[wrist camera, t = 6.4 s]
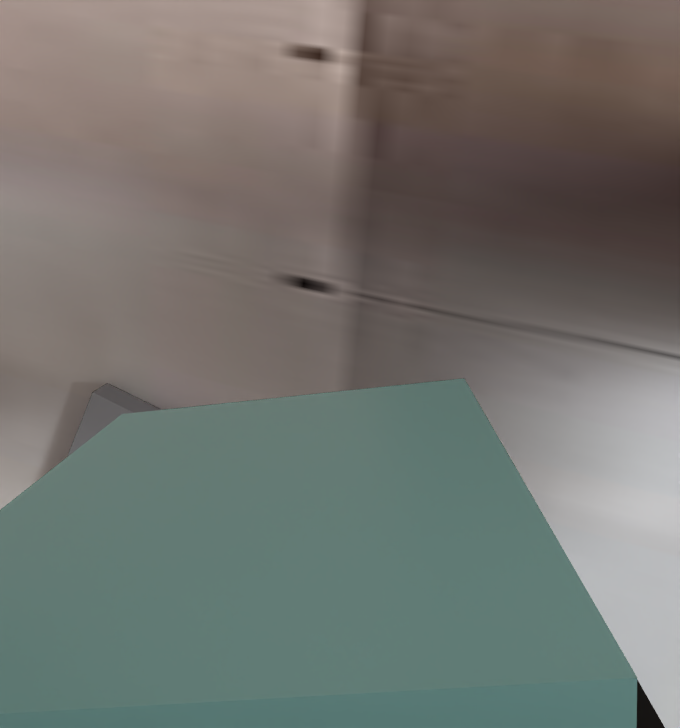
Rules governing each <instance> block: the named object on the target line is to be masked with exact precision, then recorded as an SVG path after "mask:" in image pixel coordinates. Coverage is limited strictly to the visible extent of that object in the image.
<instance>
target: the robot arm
mask: <svg viewBox="0 0 680 728" xmlns="http://www.w3.org/2000/svg"><path fill="white" fill-rule="evenodd" d="M637 728H665V727H664V726H663V724H662V722H661V720H660V719H659V717H658V715H657V713H656V712H655V710H654V708H653V706H652V705H651V703H650V701H649V699H648V698H647V696H646V694H645V692H644V691H643V689H642V687H641V685H640V684H639V682H638V680H637Z"/></svg>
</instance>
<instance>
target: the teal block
mask: <svg viewBox="0 0 680 728" xmlns="http://www.w3.org/2000/svg"><path fill="white" fill-rule="evenodd" d="M0 728H637V677H636V675H635V673H634V672H633V670H632V668H631V666H630V665H629V663H628V661H627V659H626V658H625V656H624V654H623V652H622V651H621V649H620V647H619V646H618V644H617V642H616V640H615V639H614V637H613V635H612V633H611V632H610V630H609V628H608V627H607V625H606V623H605V621H604V620H603V618H602V616H601V614H600V613H599V611H598V609H597V607H596V606H595V604H594V602H593V601H592V599H591V597H590V595H589V594H588V592H587V590H586V588H585V587H584V585H583V583H582V582H581V580H580V578H579V576H578V575H577V573H576V571H575V569H574V568H573V566H572V564H571V562H570V561H569V559H568V557H567V556H566V554H565V552H564V550H563V549H562V547H561V545H560V543H559V542H558V540H557V538H556V537H555V535H554V533H553V531H552V530H551V528H550V526H549V524H548V523H547V521H546V519H545V517H544V516H543V514H542V512H541V511H540V509H539V507H538V505H537V504H536V502H535V500H534V498H533V497H532V495H531V493H530V492H529V490H528V488H527V486H526V485H525V483H524V481H523V479H522V478H521V476H520V474H519V472H518V471H517V469H516V467H515V466H514V464H513V462H512V460H511V459H510V457H509V455H508V453H507V452H506V450H505V448H504V447H503V445H502V443H501V441H500V440H499V438H498V436H497V434H496V433H495V431H494V429H493V427H492V426H491V424H490V422H489V421H488V419H487V417H486V415H485V414H484V412H483V410H482V408H481V407H480V405H479V403H478V402H477V400H476V398H475V396H474V395H473V393H472V391H471V389H470V388H469V386H468V384H467V382H466V381H465V379H464V378H463V379H453V380H444V381H434V382H425V383H415V384H405V385H396V386H386V387H376V388H367V389H357V390H348V391H338V392H328V393H319V394H309V395H300V396H290V397H280V398H271V399H261V400H251V401H242V402H232V403H223V404H213V405H203V406H194V407H184V408H174V409H165V410H155V411H146V412H136V413H126V414H121V415H120V416H119V417H118V418H116V419H115V420H114V421H112V422H111V423H110V424H109V425H107V426H106V427H105V428H104V429H102V430H101V431H100V432H98V433H97V434H96V435H95V436H93V437H92V438H91V439H90V440H88V441H87V442H86V443H85V444H83V445H82V446H81V447H79V448H78V449H77V450H76V451H74V452H73V453H72V454H71V455H69V456H68V457H67V458H66V459H64V460H63V461H62V462H60V463H59V464H58V465H57V466H55V467H54V468H53V469H52V470H50V471H49V472H48V473H46V474H45V475H44V476H43V477H41V478H40V479H39V480H38V481H36V482H35V483H34V484H33V485H31V486H30V487H29V488H27V489H26V490H25V491H24V492H22V493H21V494H20V495H19V496H17V497H16V498H15V499H14V500H12V501H11V502H10V503H8V504H7V505H6V506H5V507H3V508H2V509H1V510H0Z"/></svg>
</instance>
